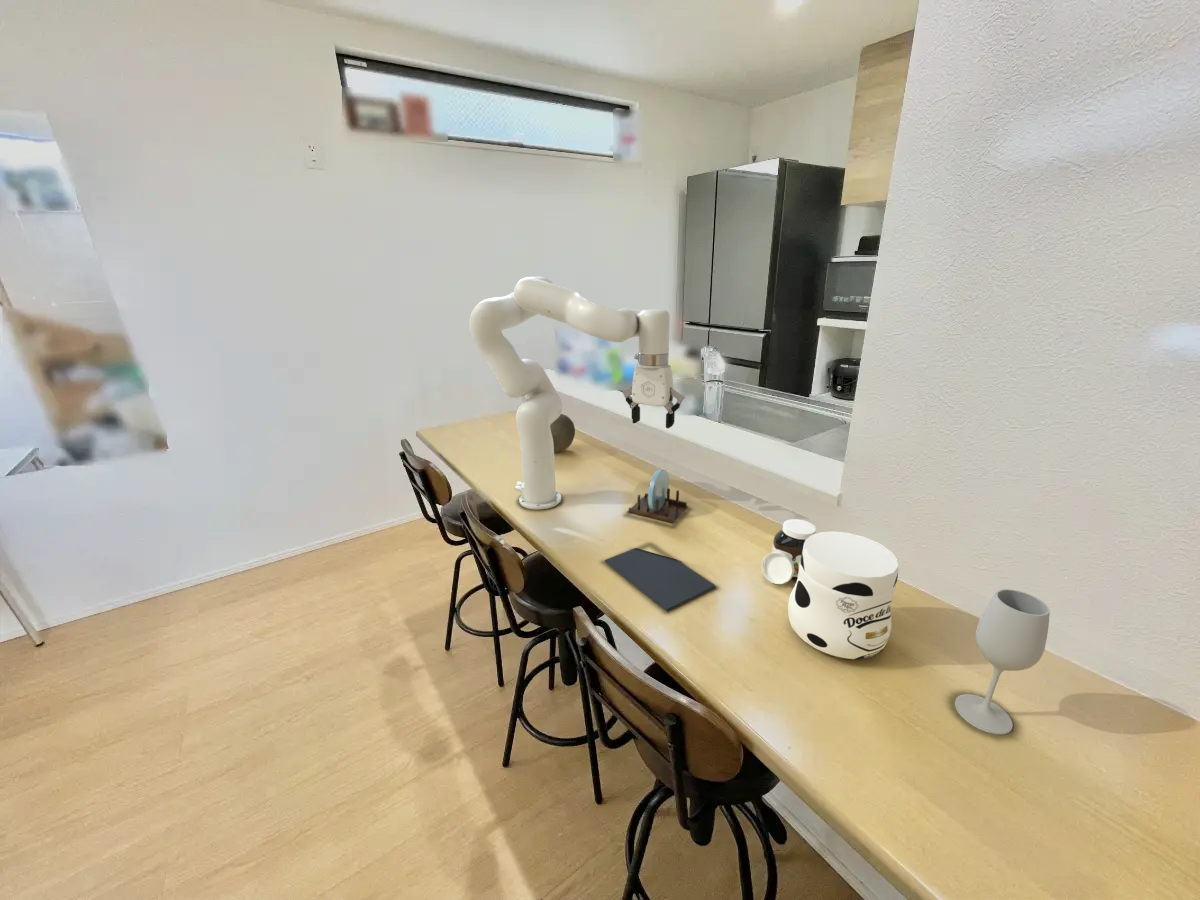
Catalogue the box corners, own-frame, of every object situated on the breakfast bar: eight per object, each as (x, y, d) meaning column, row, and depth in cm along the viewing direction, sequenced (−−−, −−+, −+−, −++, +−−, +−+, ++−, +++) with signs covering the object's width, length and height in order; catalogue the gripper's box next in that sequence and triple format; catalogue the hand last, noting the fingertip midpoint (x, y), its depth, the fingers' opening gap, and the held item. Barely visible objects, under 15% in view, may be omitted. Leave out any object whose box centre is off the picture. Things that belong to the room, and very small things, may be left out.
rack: (626, 515, 139) (626, 496, 137) (644, 498, 149) (644, 480, 146) (673, 527, 132) (674, 507, 130) (688, 509, 142) (689, 490, 140)
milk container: (882, 684, 82) (904, 594, 76) (775, 645, 91) (787, 561, 84) (888, 624, 96) (908, 543, 89) (795, 595, 104) (807, 520, 98)
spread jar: (815, 566, 114) (822, 521, 110) (818, 594, 104) (827, 547, 100) (761, 557, 118) (766, 513, 114) (759, 584, 108) (765, 537, 104)
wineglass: (941, 696, 80) (975, 587, 72) (985, 692, 80) (1023, 584, 73) (979, 737, 73) (1020, 621, 65) (1027, 733, 73) (1073, 618, 66)
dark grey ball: (533, 449, 190) (531, 411, 185) (567, 443, 196) (566, 407, 191) (545, 461, 178) (543, 421, 173) (581, 455, 184) (580, 416, 179)
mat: (604, 562, 117) (604, 559, 117) (650, 544, 124) (650, 542, 124) (666, 611, 100) (666, 609, 100) (715, 587, 107) (715, 585, 107)
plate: (647, 517, 135) (648, 477, 131) (664, 500, 145) (665, 462, 141) (651, 518, 135) (652, 478, 131) (668, 501, 145) (669, 463, 140)
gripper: (616, 359, 126) (617, 423, 132) (679, 364, 117) (677, 433, 123) (630, 355, 132) (630, 416, 138) (691, 359, 123) (688, 425, 129)
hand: (652, 424), depth 130 cm, fingers open, 9 cm apart
